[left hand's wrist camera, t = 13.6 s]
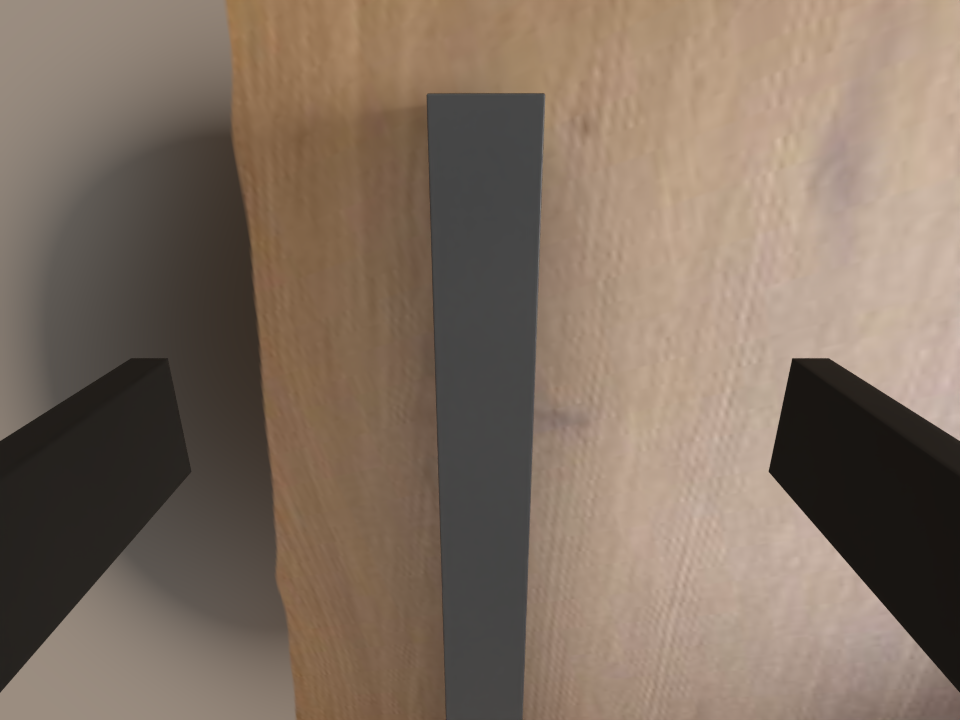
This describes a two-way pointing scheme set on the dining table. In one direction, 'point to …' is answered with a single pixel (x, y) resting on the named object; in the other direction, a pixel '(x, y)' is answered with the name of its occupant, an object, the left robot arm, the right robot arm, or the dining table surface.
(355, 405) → the dining table surface
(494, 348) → the post
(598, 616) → the dining table surface
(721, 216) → the dining table surface
